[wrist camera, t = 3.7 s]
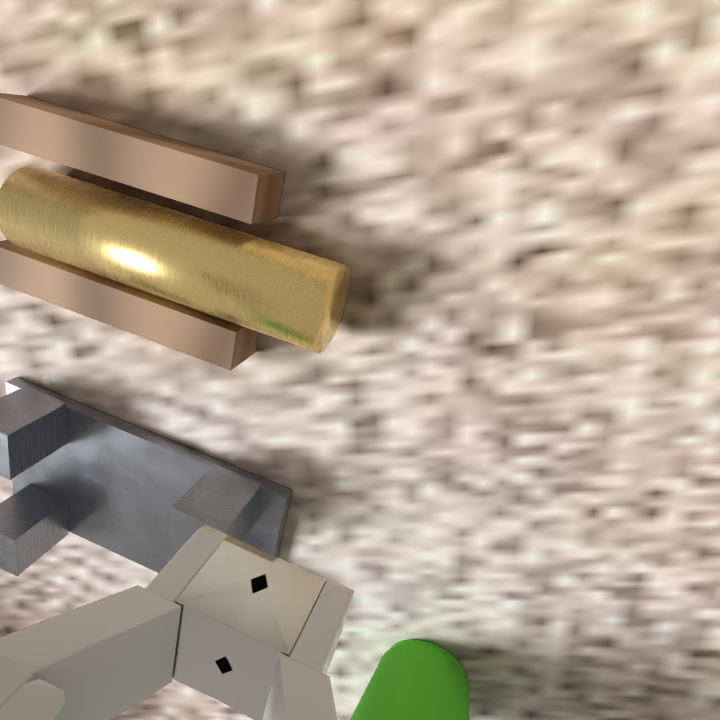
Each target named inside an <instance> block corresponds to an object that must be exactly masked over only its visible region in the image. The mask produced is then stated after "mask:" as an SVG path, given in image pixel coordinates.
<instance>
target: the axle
mask: <svg viewBox="0 0 720 720" xmlns="http://www.w3.org/2000/svg"><path fill="white" fill-rule="evenodd" d="M0 230H1V232H2V233H3V235H4V236H5V237H6V238H7V239H8V240H9V241H10V242H11V243H12V244H14V245H16V246H19V247H21V248H24V249H27V250H30V251H33V252H35V253H38V254H41V255H44V256H47V257H49V258H52V259H55V260H58V261H61V262H64V263H66V264H69V265H72V266H75V267H78V268H80V269H83V270H86V271H89V272H92V273H94V274H97V275H100V276H103V277H106V278H109V279H111V280H114V281H117V282H120V283H123V284H125V285H128V286H131V287H134V288H137V289H139V290H142V291H145V292H148V293H151V294H154V295H156V296H159V297H162V298H165V299H168V300H170V301H173V302H176V303H179V304H182V305H185V306H187V307H190V308H193V309H196V310H199V311H201V312H204V313H207V314H210V315H213V316H215V317H218V318H221V319H224V320H227V321H230V322H232V323H235V324H238V325H241V326H244V327H246V328H249V329H252V330H255V331H258V332H260V333H263V334H266V335H269V336H272V337H275V338H277V339H280V340H283V341H286V342H289V343H291V344H294V345H297V346H300V347H303V348H305V349H308V350H311V351H314V352H317V353H321V352H322V351H324V350H325V349H326V347H327V346H328V345H329V343H330V342H331V340H332V338H333V336H334V334H335V332H336V330H337V328H338V326H339V323H340V321H341V318H342V315H343V310H344V306H345V302H346V297H347V293H348V289H349V285H350V269H349V267H348V266H347V265H344V264H341V263H338V262H335V261H332V260H329V259H326V258H322V257H319V256H316V255H313V254H310V253H307V252H304V251H301V250H297V249H294V248H291V247H288V246H285V245H282V244H279V243H276V242H272V241H269V240H266V239H263V238H260V237H257V236H254V235H251V234H247V233H244V232H241V231H238V230H235V229H232V228H229V227H225V226H222V225H219V224H216V223H213V222H210V221H207V220H204V219H200V218H197V217H194V216H191V215H188V214H185V213H182V212H179V211H175V210H172V209H169V208H166V207H163V206H160V205H157V204H154V203H150V202H147V201H144V200H141V199H138V198H135V197H132V196H129V195H125V194H122V193H119V192H116V191H113V190H110V189H107V188H104V187H100V186H97V185H94V184H91V183H88V182H85V181H82V180H79V179H75V178H72V177H69V176H66V175H63V174H60V173H57V172H54V171H50V170H47V169H44V168H41V167H37V166H28V167H24V168H21V169H19V170H17V171H15V172H14V173H12V174H11V175H10V176H9V177H8V178H7V179H6V181H5V182H4V183H3V185H2V187H1V189H0Z"/></svg>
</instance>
